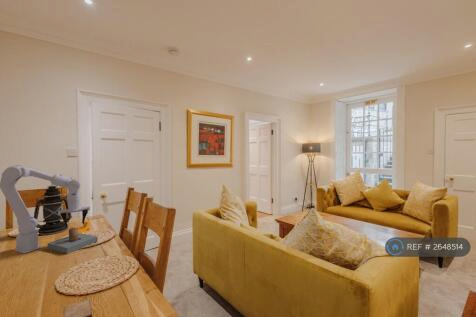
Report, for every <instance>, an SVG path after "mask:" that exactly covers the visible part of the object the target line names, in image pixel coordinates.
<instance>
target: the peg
mask: <svg viewBox="0 0 476 317" xmlns="http://www.w3.org/2000/svg"><path fill="white" fill-rule="evenodd" d="M78 229H79V228H78V227H77V228H71V229H70V228H68V236H69V242H74V241H77V240H78Z"/></svg>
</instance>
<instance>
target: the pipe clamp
mask: <svg viewBox="0 0 476 317" xmlns="http://www.w3.org/2000/svg"><path fill="white" fill-rule="evenodd" d="M71 228H78V226H77V225H72V226H70V228H69V229H71ZM87 231H88V232H90V231H91V221H90V220H84V224H82V226H79V228H78V233H83V232H86V233H88V232H87Z"/></svg>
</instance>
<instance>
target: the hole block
mask: <svg viewBox="0 0 476 317" xmlns="http://www.w3.org/2000/svg"><path fill="white" fill-rule="evenodd" d="M97 241H98V242H99V236H96V235H91V234H87V233H84V234H82V233H78V240H77V241H74V242H69V235H68V236H65V237H62V238H59V239H56V240H53V241H50V242H47V250H51V251H54V252H59V253H62V254H65V255H66V254H68V255H69V254H71V253H73V252H76V251H78V250H81V249H83V248H82V247H84V246H86V247H88V246H87V245H89V246H91V245H93V244H92V243H94V244H96V243H98V242H97ZM95 242H96V243H95ZM90 244H91V245H90ZM84 248H85V247H84Z"/></svg>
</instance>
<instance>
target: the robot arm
mask: <svg viewBox="0 0 476 317" xmlns="http://www.w3.org/2000/svg"><path fill="white" fill-rule="evenodd" d="M27 177H33V178H38V179H41V180H45V181H48V182H50V185H52V186H57V187H61V188H67V195H68V197H67V199H68V209H66V208H65V209H62V210H58V215H60V214H61V217H62V218H63V219H62V221H64V222H65V225H66V227H67V225H68V222H67V218H68V214H67V213H71V214H72V213H78V212H81V214H82V216H81V217H82V221H81V222H82V225H83V224H84V222H85V221H86V217H87V215H88V213H89V211H91V207H90V206H81V203H82V202H81V189H80V188H81V182H80V180H78V179H76V178H73V177H67V176H64V175H63V174H61V173H60V174H54V175H52V174H49V173H47V172H44V171H41V170H38V169H36V168H32V167H27V166H23V165H13V166H9V167H6V168H5V170H3V172H2V173H1V179H0V190H1V192H2V194H3V196H4V198H5V199H6V201H7V202H8V205H9V207H10V208H11V211H12V212H13V214H14V216H15V217H16V222H17V226H18V227H17V229H18V234H17V236H16V237H15V242H16V244H15V247H16V249H13V251H14V252H17V253H21V254H27V253H31V252H33V251H37V250H39V249H42V248H43V247H44V246H42V245H39V244H40V243H39V234H38V230H39V228H36V227H37V225H38V224H39V220H38V218H37V219H35V218H34V215H33V214H32V213H30V212H29V209H28V208H27V206H26V204H25V202H24V201H23V199H22V197H21V194H20V193H19V191H18V189H17V187H16V184H17V183H18V181H19V180H20V179H21V178H27Z"/></svg>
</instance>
